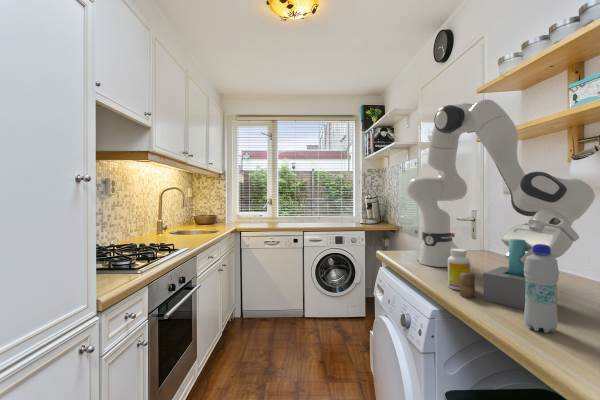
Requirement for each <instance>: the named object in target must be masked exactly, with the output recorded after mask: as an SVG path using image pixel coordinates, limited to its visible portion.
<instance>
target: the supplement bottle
mask: <svg viewBox="0 0 600 400" xmlns="http://www.w3.org/2000/svg"><path fill="white" fill-rule="evenodd" d="M451 254H452V256H451V257H449V258H448V267H447V287H448V288H450V289H451V290H455V291H460V273H461V272H469V273H471V272H470V271H471V269H470V263H471V262H470V258H468V257H466V256H467V250H466V249H464V248H459V249H451Z"/></svg>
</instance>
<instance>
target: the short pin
mask: <svg viewBox="0 0 600 400" xmlns="http://www.w3.org/2000/svg"><path fill="white" fill-rule="evenodd" d="M475 279H476V274H475V273H473V272H470V273H469V272H461V273H460V290H459V296H460V297H461V296H462V298H464V297H465V298H464V299H474V298H475V295H476V293H475V292H476V286H475V285H476V284H475V283H476V281H475Z"/></svg>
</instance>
